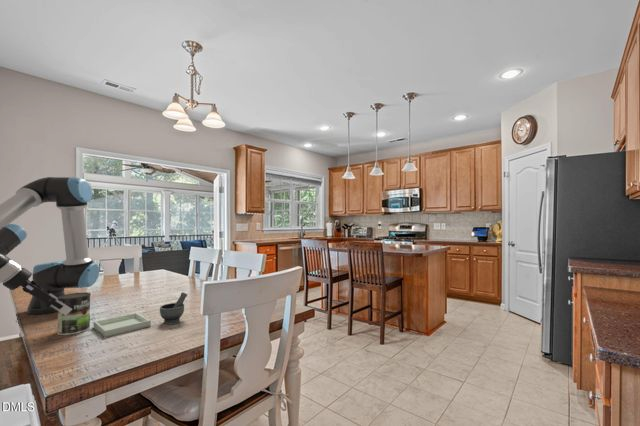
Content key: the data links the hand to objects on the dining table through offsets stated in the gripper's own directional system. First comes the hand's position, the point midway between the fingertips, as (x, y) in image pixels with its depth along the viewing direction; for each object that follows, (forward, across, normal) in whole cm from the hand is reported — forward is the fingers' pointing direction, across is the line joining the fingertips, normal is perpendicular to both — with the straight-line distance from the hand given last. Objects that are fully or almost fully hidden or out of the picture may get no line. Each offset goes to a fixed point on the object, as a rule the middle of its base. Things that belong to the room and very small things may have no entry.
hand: (65, 308), depth 120 cm
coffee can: (+9, -1, -5) cm, 10 cm away
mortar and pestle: (+31, +18, +17) cm, 40 cm away
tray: (+19, +9, +5) cm, 21 cm away
